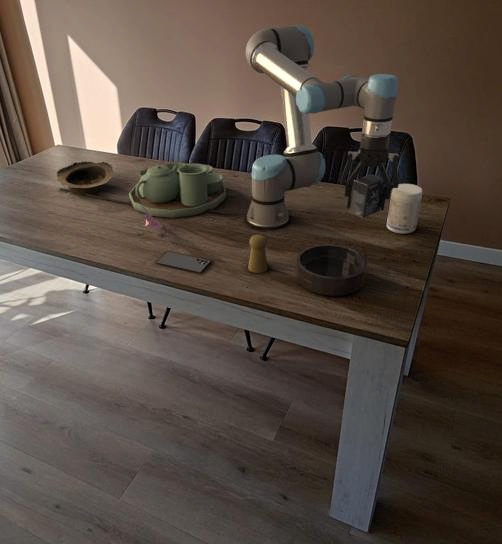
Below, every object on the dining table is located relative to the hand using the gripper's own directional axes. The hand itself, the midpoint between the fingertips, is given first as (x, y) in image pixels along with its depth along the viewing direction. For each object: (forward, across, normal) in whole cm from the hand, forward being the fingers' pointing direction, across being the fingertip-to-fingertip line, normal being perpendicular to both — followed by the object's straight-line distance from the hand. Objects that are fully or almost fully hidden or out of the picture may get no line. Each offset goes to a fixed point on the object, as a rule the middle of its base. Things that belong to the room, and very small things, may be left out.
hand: (365, 207), depth 152 cm
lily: (+17, -72, +1) cm, 74 cm away
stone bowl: (+18, -116, +36) cm, 122 cm away
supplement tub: (+17, +13, +21) cm, 30 cm away
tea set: (+17, -73, +33) cm, 82 cm away
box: (+2, 0, 0) cm, 2 cm away
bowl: (+16, -8, -17) cm, 25 cm away
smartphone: (+17, -54, -17) cm, 59 cm away
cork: (+17, -30, -15) cm, 37 cm away
